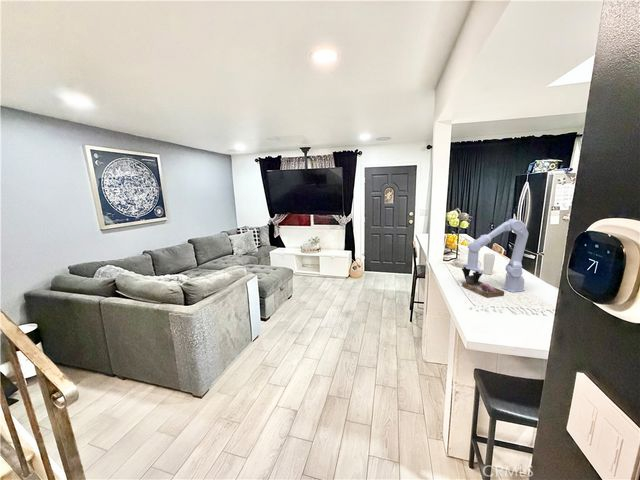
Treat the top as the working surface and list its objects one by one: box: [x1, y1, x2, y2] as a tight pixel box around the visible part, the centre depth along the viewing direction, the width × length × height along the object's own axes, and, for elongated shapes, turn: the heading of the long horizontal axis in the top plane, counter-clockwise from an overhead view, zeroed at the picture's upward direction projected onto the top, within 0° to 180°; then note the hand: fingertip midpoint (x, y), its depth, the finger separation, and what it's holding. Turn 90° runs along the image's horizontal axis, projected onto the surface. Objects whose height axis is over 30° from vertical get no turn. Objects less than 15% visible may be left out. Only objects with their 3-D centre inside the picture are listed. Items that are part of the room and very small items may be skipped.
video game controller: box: [478, 282, 497, 293], centre depth 155 cm, size 10×5×7 cm, turn 12°
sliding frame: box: [461, 274, 505, 298], centre depth 159 cm, size 20×12×6 cm, turn 12°
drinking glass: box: [483, 252, 496, 275], centre depth 190 cm, size 7×7×15 cm
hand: (471, 280), depth 167 cm, fingers open, 7 cm apart
